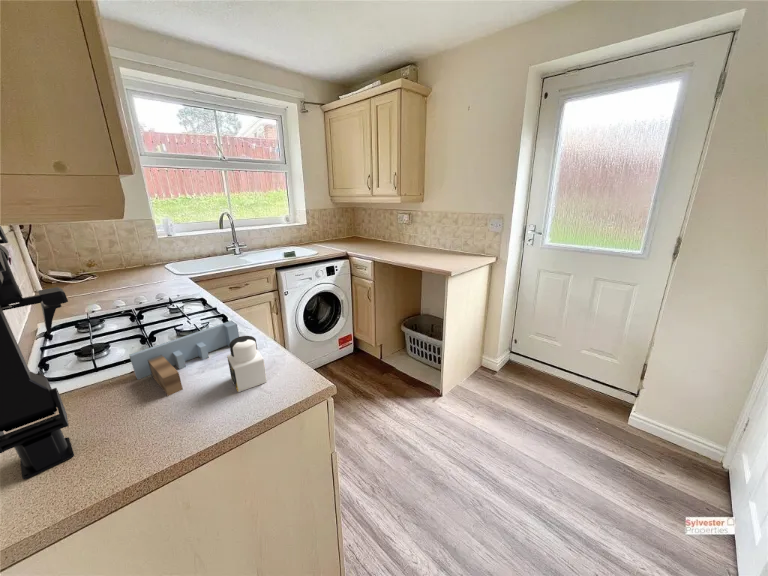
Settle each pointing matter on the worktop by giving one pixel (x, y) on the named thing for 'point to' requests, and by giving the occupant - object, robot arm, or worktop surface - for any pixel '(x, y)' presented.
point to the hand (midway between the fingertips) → (20, 341)
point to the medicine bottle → (246, 363)
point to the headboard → (185, 348)
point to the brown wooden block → (165, 375)
